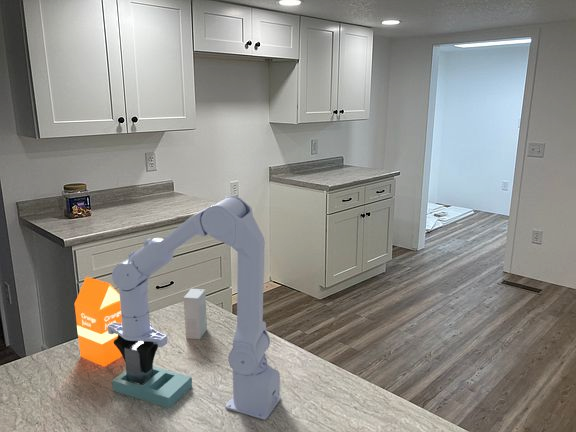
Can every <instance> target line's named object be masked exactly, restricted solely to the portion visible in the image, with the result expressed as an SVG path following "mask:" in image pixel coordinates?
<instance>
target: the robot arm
mask: <svg viewBox="0 0 576 432" xmlns="http://www.w3.org/2000/svg"><path fill="white" fill-rule="evenodd" d="M261 231H262V230H261V229H260V227H259V225H258V223H257V221H256V219H255V217H254V213H253V208H252V206H250V205H249V204H248V203H247V202H245V200H243V199H242V198H240V197H239V196H237V195H236V196H235V195H228V196H225V197H224V198H223V199H221V200H220V201H219V202H216V203H213V204H211V205H210V206H208V207H205V208H203V209H202V210H200V211H198V212H196V213H195V214H193V215H191V216H190V217H189V218H188V219H186V220H185V221H184V222H183V223H181V224H180V225H179V226H178V227H176V228H175V229H174V230H173V231H172V232H170V233H169V234H168V235H166V236H165V237H164V238H163V237H154V238H151V237H150V238H148V239H146V240H145V241H144V242H142V245H143V246H142V247H140V249H138V250H137V251H136V252H135V251H132V252H131V253H129V254H128V255H127V256H128V258H127V259H125V260H123V261H122V262H119V263H117V264H116V266H115V267H114V268H113V269H112V272H111V279H112V281H113V283H114V284H115V286H116V287H117V288H118V293H119V295H120V307H121V318H122V323H116V322H113V323H112V324H110V325H108V334H114V333H115V334H118V337H117V339H115V340H114V345H115V346H116V347H117V348H118V349H119V351H120V352H121V354H122V359H123V361H124V363H125V364H126V362H125V351H124V348H125V347H126V346H128V345H129V344H131V343H132V342H134V341H143V343H142V344H141V345H139V346H138V347H137V350H138V352H139V354H140V357H141V361H142V368H143V372H144V373H147V372H148V371H150V370H151V369H152V365H153V366H154V359H155V355H156V353H157V352H158V351H157V350H158V348H161V349H162V348H163V347H164V346H166V345H167V344H168V337H167V336H168V335H166V334H164V333H161V332H160V331H158V330H156V329H155V328H153V326H152V323H151V322H150V321H151V319H150V318H151V317H150V306H149V295H148V293H149V291H148V284H149V282H148V280H149V279H150V277H151V276H152V275H153V274H155V273H157V272H158V271H159V270H160V269H162V268H163V267H164V266H166V265H168V263H170V262H171V261H172V260H173V258H174V252H175V250H176V249H179V247H181V246H183V245H184V244H185V243H186V242H188V241H189V240H191V239H192V238H194V237H195V236H196V235H197V236H198V235H199V236H201V237H207V236H210V237H212V238H213V239H215V240H218V241H220V242H221V243H224V244H225V245H228V246H230V247H231V248H232V249H234V250H235V251H236V252H237V283H236V284H237V289H236V292H237V293H236V294H237V295H236V298H237V300H236V306H237V307H236V329H235V331H234V336H233V338H232V348H231V350H230V352H228V356H227V358H228V359H227V361H228V364H229V366H230V368H231V370H232V395H233V396H232V397H231V398H230V399H229V401H228V402H227V403H226V404H225V409H228V410H230V411H234V412H238V413H240V414H244V415H247V416H251V417H254V418H257V419H259V420H263V421H264V420H267V419H268V418H269V416H270V415H271V413H272V412H273V410H274V409H275V408H276V406H277V405H278V404H279V402H280V401H281V399H282V396H281V395H280V394H281V393H280V391H281V388H280V387H281V386H280V385H281V383H280V382H281V381H280V380H281V376H280V371H279V370H278V369H276V368H274V367H272V366H271V365H270V364H268V359H267V356H266V353H267V352H266V351H267V350H268V349H269V347H270V344H271V339H270V336H269V333H268V331H267V323H266V322H265V321H264V320H263V318H264V317H263V316H264V286H265V285H264V281H265V279H264V278H265V277H264V276H265V243H266V242H265V237H264V235H263V233H262V232H261Z"/></svg>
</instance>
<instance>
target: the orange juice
mask: <svg viewBox="0 0 576 432" xmlns="http://www.w3.org/2000/svg"><path fill="white" fill-rule="evenodd" d="M74 310H75V321H76V329H77V331H76V332H77V337H78V345H79V354H80V355H79V356H80V357H81V358H83V359H85V360H88V361H90V362H91V363H95V364H97V365H99V366H102V367H106V366H108V365H110V364H112V363H113V362H114V361H116V360H118V359H120V358H123V356H122V354H121V352H120V351H119V349H118V348H117V347H116V346H115V345H114V340H115V339H117V337H118V334H115V333H114V334H108V325H110V324H112V323H113V322H116V323H122V318H121V307H120V295H119V291H117V290H116V289H115V288H114V286H112V284H111V283H109V282H106V281H102V280H99V279H95V278H92V277H88V276H85V278H84V281H83V283H82V284H81V288H80V291H79V293H78V295H77V297H76V299H75V302H74Z"/></svg>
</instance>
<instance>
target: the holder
mask: <svg viewBox="0 0 576 432" xmlns="http://www.w3.org/2000/svg"><path fill="white" fill-rule="evenodd" d="M192 379H193V378H192V376H190V375H186V374H183V373H179V372H176V371H172V370H169V369H165V368H163V367H158V366H155V365H153V376H152V377H150V378H149V379H148V380H147V381H145V382H144V383H143V384H142V385H141V384H138V383H134V382H131V381H128V380H127V374H126V370H124V371H123V372H121V373H120V374H119V375H117V376H115V378H114V379H112V380H111V381H112V382H111V383H112V391H114V392H117V393H120V394H123V395H127V396H130V397H131V398H132V397H133V398H135V399H137V400H142V401H144V402H148V403H152V404H153V405H157V406H161V407H164V408H166V409H171V408H172V406H173V405H175V404H176V403H177V402H178V401H179V400H180V399H181V398H182V397H183V396H184V395H185V394H186V393H187V392H188V391H189V390H191V388H193V380H192Z"/></svg>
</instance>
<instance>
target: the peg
mask: <svg viewBox="0 0 576 432" xmlns="http://www.w3.org/2000/svg"><path fill="white" fill-rule="evenodd" d="M142 343H143V341H134V342H132V343H131V344H129V345H128V346H126V347H125V348H124V351H125V361H124V363H125V362H126V363H125V371H126V374H127V380H128V381H131V383H134V384H138V385H141V386H142V385H144V384H145V383H146V382H147V381H148V380H150V379H151V378H150V377H152V376H153V366H154V364H153V365H152V369H151V370H150V371H148V372H147V373H144V372H143V368H142V361H141V357H140V354H139V352H138V350H137V347H138V346H139V345H141V344H142Z"/></svg>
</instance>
